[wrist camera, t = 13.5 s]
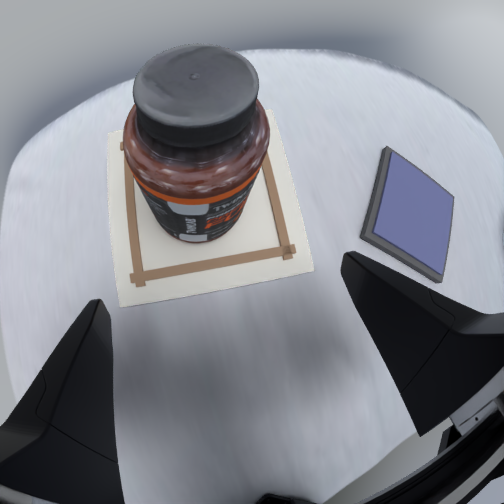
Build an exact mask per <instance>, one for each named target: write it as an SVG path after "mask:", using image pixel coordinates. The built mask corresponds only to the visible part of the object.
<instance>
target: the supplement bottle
mask: <svg viewBox="0 0 504 504" xmlns="http://www.w3.org/2000/svg"><path fill="white" fill-rule="evenodd" d="M258 90H259V79H258V75H257V72H256V70H255V68H254V67H253V65H252V64H251V63H250V62H249V61H248V60H247V59H246V58H245V57H243V56H242V55H240V54H238V53H236V52H235V51H232V50H230V49H229V48H225V47H221V46H217V45H212V44H188V45H182V46H178V47H174V48H171V49H169V50H166V51H163V52H162V53H160V54H157V55H156V56H154V57H153V58H152V59H150V60H149V61H148V62H147V63H146V64H145V65H144V66H143V67H142V68H141V69H140V71H139V72H138V74H137V75H136V78H135V81H134V85H133V97H134V103H135V104H134V105H133V107H132V109H131V111H130V112H129V114H128V117H127V119H126V122H125V126H124V130H123V149H124V154H125V158H126V161H127V163H128V166H129V168H130V170H131V172H132V174H133V177H134V178H135V181H136V183H137V184H138V186H139V188H140V190H141V192H142V194H143V196H144V198H145V200H146V202H147V203H148V205H149V207H150V209H151V211H152V213H153V214H154V216H155V218H156V220H157V222H158V223H159V224H160V226H161V227H162V228H163V229H164V230H165V231H166V232H167V233H168V234H169V235H171V236H172V237H174V238H176V239H178V240H181V241H184V242H188V243H205V242H210V241H213V240H216V239H218V238H220V237H221V236H223V235H224V234H226V233H227V232H228V231H229V230H230V229H231V228H232V227H233V226H234V225H235V223H236V222H237V221H238V220H239V218H240V216H241V214H242V212H243V209H244V206H245V204H246V201H247V198H248V196H249V194H250V191H251V189H252V187H253V185H254V182H255V180H256V178H257V175H258V173H259V171H260V168H261V165H262V163H263V161H264V158H265V156H266V154H267V149H268V146H269V141H270V127H269V121H268V117H267V115H266V112H265V110H264V108H263V107H262V105H261V103H260V102H259V101H258V99H257V95H258Z"/></svg>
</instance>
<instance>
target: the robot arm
mask: <svg viewBox="0 0 504 504" xmlns="http://www.w3.org/2000/svg"><path fill="white" fill-rule="evenodd" d="M341 276H342V278H343V280H344V282H345V285H346V287H347V289H348V292H349V294H350V296H351V299H352V301H353V303H354V305H355V307H356V309H357V311H358V313H359V315H360V317H361V318H362V320H363V322H364V324H365V326H366V328H367V330H368V331H369V333H370V335H371V337H372V339H373V341H374V343H375V345H376V346H377V348H378V350H379V352H380V354H381V356H382V358H383V360H384V362H385V364H386V366H387V368H388V370H389V372H390V374H391V376H392V378H393V380H394V382H395V384H396V386H397V388H398V390H399V392H400V393H401V394H400V395H401V397H402V399H403V401H404V403H405V406H406V408H407V410H408V412H409V414H410V416H411V419H412V421H413V423H414V425H415V428H416V430H417V432H418V434H419V436H420V437H421V436H423V435H424V434H426V433H427V432H429V431H430V430H432V429H433V428H434V427H436V426H437V425H439V424H440V423H441V422H443V421H444V420H446V419H447V418H448V417H449V418H450V420H451V421H452V423H453V425H452V426H450V427H449V428H448V429H446V430H445V431H444V432H443V434H442V439H441V443H440V447H439V450H438V455H437V456H436V457H435V458H433V459H432V460H430V461H429V462H428V463H426V464H425V465H423V466H422V467H420V468H419V469H417V470H416V471H414V472H413V473H411V474H409V475H408V476H406V477H404V478H403V479H401V480H399V481H398V482H396V483H395V484H393V485H391V486H389V487H387V488H385V489H384V490H382V491H380V492H378V493H376V494H374V495H372V496H370V497H368V498H366V499H364V500H362V501H359V502H357V503H355V504H467V503H468V502H469V501H470V500H471V499H472V498H473V497H475V496H476V495H477V494H478V493H479V492H480V491H481V490H482V489H483V488H484V487H485V486H486V485H487V484H488V483H489V482H490V481H491V480H493V479H496V478H498V477H501V476H503V475H504V313H497V314H484V313H481V312H478V311H476V310H474V309H472V308H469V307H467V306H465V305H463V304H461V303H458V302H456V301H454V300H452V299H450V298H448V297H445V296H443V295H442V294H440V293H438V292H436V291H434V290H432V289H430V288H428V287H426V286H424V285H422V284H420V283H418V282H416V281H414V280H413V279H411V278H409V277H407V276H405V275H403V274H401V273H399V272H397V271H395V270H393V269H391V268H389V267H387V266H385V265H383V264H381V263H379V262H377V261H374V260H372V259H370V258H368V257H366V256H364V255H362V254H360V253H358V252H356V251H350V252H346V253H344V255H343V260H342V265H341ZM267 499H270V500H267ZM0 504H125V502H124V497H123V491H122V485H121V479H120V472H119V465H118V457H117V448H116V437H115V424H114V403H113V347H112V331H111V318H110V314H109V312H108V311H107V309H106V307H105V305H104V303H103V301H102V300H101V299H94V300H91V301H89V303H88V304H87V305H86V306H85V308H84V309H83V310H82V312H81V313H80V314H79V316H78V317H77V318H76V320H75V321H74V322H73V324H72V325H71V326H70V328H69V329H68V331H67V332H66V333H65V335H64V336H63V338H62V339H61V340H60V342H59V343H58V345H57V346H56V348H55V349H54V351H53V352H52V353H51V355H50V356H49V358H48V359H47V361H46V362H45V364H44V366H43V367H42V370H40V372H39V373H38V375H37V376H36V378H35V379H34V381H33V382H32V384H31V386H30V387H29V389H28V390H27V391H26V393H25V394H24V396H23V397H22V399H21V400H20V401H19V403H18V404H17V406H16V407H15V408H14V410H13V411H12V413H11V414H10V416H9V417H8V419H7V420H6V421H5V422H4V423H3V424H2V425H1V426H0ZM256 504H316V503H311V502H306V501H301V500H297V499H289V498H284V497H280V496H276V495H273V494H267V495H264V496H263V497H262V498H261V499H260V500H259V501H258V502H257V503H256ZM501 504H504V503H501Z"/></svg>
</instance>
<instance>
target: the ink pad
mask: <svg viewBox="0 0 504 504" xmlns="http://www.w3.org/2000/svg"><path fill="white" fill-rule="evenodd" d="M453 207H454V196H453V195H451V194H450V193H449V192H448V191H447V190H446V189H444V188H443V187H442V186H441V185H440V184H438V183H437V182H436V181H435V180H433V179H432V178H431V177H429V176H428V175H427V174H426V173H424V172H423V171H422V170H420V169H419V168H418V167H416V166H415V165H414V164H412V163H411V162H410V161H408V160H407V159H405V158H404V157H403V156H401V155H400V154H398V153H397V152H395V151H394V150H392V149H391V148H389V147H388V146H386V147H385V148H384V149H383V151H382V156H381V160H380V165H379V169H378V173H377V177H376V181H375V185H374V189H373V193H372V197H371V201H370V205H369V208H368V212H367V215H366V219H365V222H364V226H363V229H362V233H361V236H360V238H361V239H363V240H365V241H367V242H368V243H370V244H372V245H374V246H375V247H377V248H379V249H381V250H382V251H384V252H386V253H388V254H389V255H391V256H393V257H394V258H396V259H398V260H400V261H401V262H403V263H405V264H406V265H408V266H410V267H411V268H413V269H414V270H416V271H418V272H419V273H421V274H423V275H424V276H426V277H427V278H429V279H431V280H432V281H434V282H435V283H442V280H443V276H444V271H445V265H446V260H447V254H448V248H449V241H450V234H451V226H452V217H453Z"/></svg>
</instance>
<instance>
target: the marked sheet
mask: <svg viewBox="0 0 504 504" xmlns="http://www.w3.org/2000/svg"><path fill="white" fill-rule="evenodd" d="M265 112H266V115H267V117H268V121H269V127H270V141H269V146H268V149H267V154H266V156H265V158H264V161H263V163H262V165H261V168H260V171H259V173H258V175H257V178H256V180H255V182H254V185H253V187H252V189H251V191H250V194H249V196H248V198H247V201H246V204H245V206H244V209H243V212H242V214H241V216H240V218H239V220H238V221H237V222H236V223H235V225H234V226H233V227H232V228H231V229H230V230H229V231H228V232H227V233H226V234H224V235H223V236H221V237H220V238H218V239H216V240H213V241H210V242H205V243H188V242H184V241H181V240H178V239H176V238H174V237H172V236H171V235H169V234H168V233H167V232H166V231H165V230H164V229H163V228H162V227H161V226H160V224H159V223H158V222H157V220H156V218H155V216H154V214H153V213H152V211H151V209H150V207H149V205H148V203H147V202H146V200H145V198H144V196H143V194H142V192H141V190H140V188H139V186H138V184H137V183H136V181H135V178H134V177H133V174H132V172H131V170H130V168H129V166H128V163H127V161H126V158H125V154H124V149H123V130H124V129H122V130H118V131H114V132H110V133H108V151H107V183H108V209H109V225H110V237H111V247H112V256H113V265H114V272H115V279H116V286H117V292H118V298H119V304H120V308H122V307H128V306H134V305H140V304H147V303H153V302H158V301H164V300H170V299H176V298H181V297H187V296H192V295H198V294H203V293H209V292H214V291H219V290H225V289H230V288H235V287H240V286H245V285H250V284H255V283H260V282H265V281H270V280H275V279H280V278H284V277H289V276H294V275H298V274H303V273H308V272H312V271H315V270H314V266H313V261H312V257H311V252H310V248H309V243H308V239H307V235H306V231H305V227H304V222H303V218H302V214H301V210H300V206H299V202H298V198H297V195H296V191H295V187H294V183H293V179H292V176H291V172H290V168H289V165H288V161H287V158H286V154H285V151H284V147H283V144H282V140H281V137H280V133H279V130H278V127H277V123H276V120H275V117H274V114H273V111H272V109H266V110H265Z"/></svg>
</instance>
